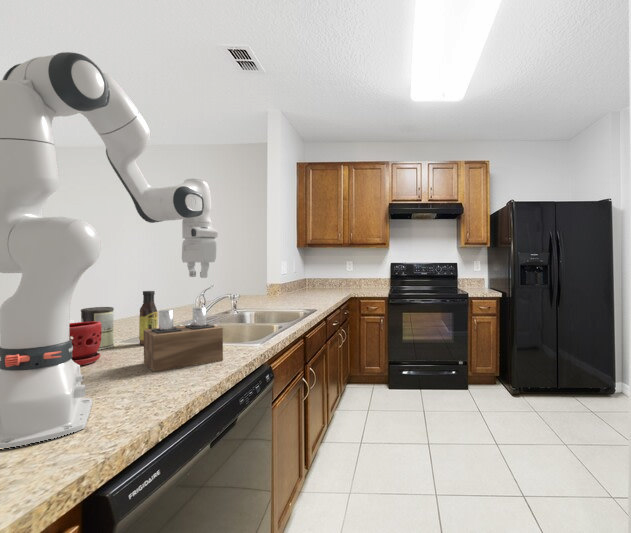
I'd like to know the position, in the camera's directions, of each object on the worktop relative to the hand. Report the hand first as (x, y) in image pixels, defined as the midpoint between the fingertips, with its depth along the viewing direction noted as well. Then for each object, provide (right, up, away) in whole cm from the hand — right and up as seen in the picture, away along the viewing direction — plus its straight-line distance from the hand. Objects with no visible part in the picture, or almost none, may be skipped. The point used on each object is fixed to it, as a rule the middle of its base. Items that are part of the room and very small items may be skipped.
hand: (198, 277), depth 118 cm
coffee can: (-42, -26, +18) cm, 52 cm away
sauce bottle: (-26, -26, +24) cm, 44 cm away
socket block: (-3, -26, -3) cm, 26 cm away
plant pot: (-36, -26, -4) cm, 44 cm away
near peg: (-7, -20, -6) cm, 22 cm away
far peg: (+1, -20, 0) cm, 20 cm away
